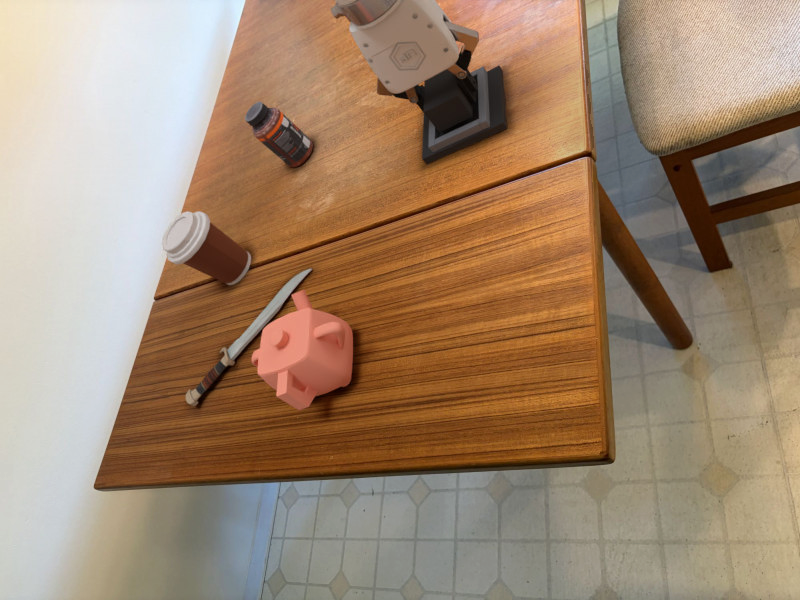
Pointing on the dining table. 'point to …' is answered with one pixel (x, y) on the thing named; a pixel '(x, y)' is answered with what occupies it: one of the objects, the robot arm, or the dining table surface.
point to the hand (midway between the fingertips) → (454, 104)
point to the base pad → (470, 119)
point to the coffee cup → (205, 248)
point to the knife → (244, 339)
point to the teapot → (305, 353)
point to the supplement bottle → (279, 134)
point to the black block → (445, 101)
